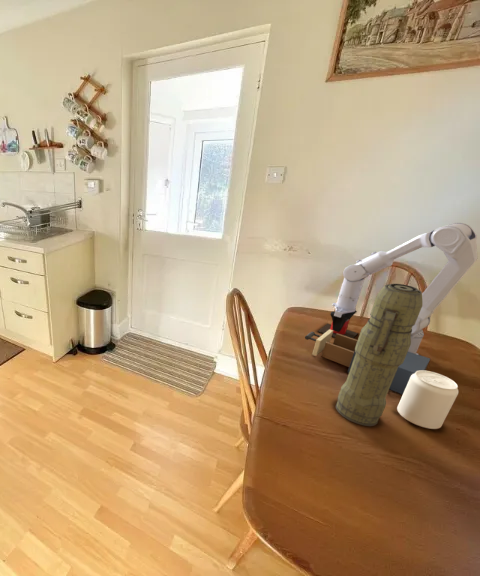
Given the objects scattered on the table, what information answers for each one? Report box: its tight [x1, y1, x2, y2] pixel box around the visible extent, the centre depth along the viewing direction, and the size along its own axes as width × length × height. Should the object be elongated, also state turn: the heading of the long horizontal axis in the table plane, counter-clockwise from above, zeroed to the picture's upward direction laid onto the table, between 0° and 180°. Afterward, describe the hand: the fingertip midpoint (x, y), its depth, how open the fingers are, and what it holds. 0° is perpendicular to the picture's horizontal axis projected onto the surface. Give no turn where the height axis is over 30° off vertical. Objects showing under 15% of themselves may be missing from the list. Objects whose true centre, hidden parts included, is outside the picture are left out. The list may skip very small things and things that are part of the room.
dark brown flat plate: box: [317, 323, 359, 339], centre depth 119 cm, size 10×10×1 cm
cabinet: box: [347, 351, 431, 395], centre depth 93 cm, size 15×13×8 cm
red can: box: [330, 319, 351, 334], centre depth 118 cm, size 5×5×6 cm
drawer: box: [304, 329, 358, 368], centre depth 103 cm, size 18×11×6 cm, turn 37°
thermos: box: [335, 283, 423, 427], centre depth 74 cm, size 9×12×35 cm
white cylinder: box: [396, 370, 459, 430], centre depth 77 cm, size 8×8×12 cm
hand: (338, 328), depth 119 cm, fingers closed on red can, 5 cm apart
